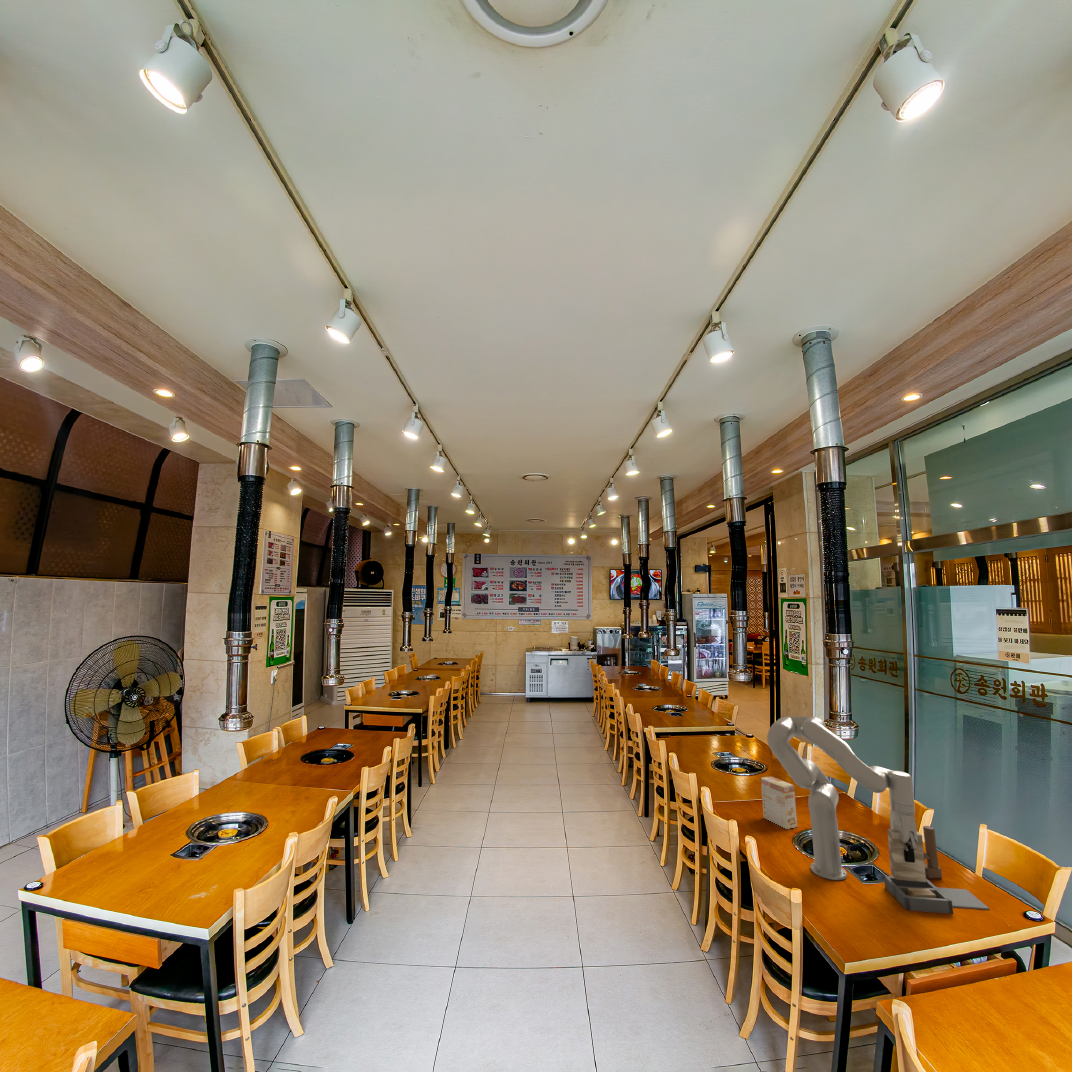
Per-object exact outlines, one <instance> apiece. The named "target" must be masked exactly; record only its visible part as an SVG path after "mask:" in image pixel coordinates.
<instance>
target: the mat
mask: <svg viewBox="0 0 1072 1072" xmlns="http://www.w3.org/2000/svg"><path fill="white" fill-rule="evenodd" d="M936 887H937V886H936ZM937 888H938V889H939V890H940V891H941V892H942V893H943V894H944V895H946V896H947V897H948V898H949V899H950V900H951V901H952V907H953V908H962V909H975V910H986V911H987V910H990V908H989V907H988V906H987V905H986V904H985V903H983V902H982V901H981V900H980V899H978V897H976V896H975V895H974V894H972V893H971V892H970V891H969V890H968V889H965V888H950V887H937Z"/></svg>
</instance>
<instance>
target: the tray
mask: <svg viewBox="0 0 1072 1072" xmlns="http://www.w3.org/2000/svg"><path fill="white" fill-rule="evenodd" d="M883 878H884V879H883V880H884V887H885V889H886V890H887V891H888V892H889V893H890V894H891V895H892V897H894V898H895V899H896V900H897V902H898V903H899V904H900V905H901V906H902V907H903V908H904V909H905V910H906V911H910V912H911V911H914V912H926V913H935V914H936V913H937V914H949V915H950V914H951V915H953V914H954V907H952V901H951V900H950V899H949V898H948V897H947V896H946V895H944V894H943V893H942V892H941V891H940V890H939V889H938V888H939V887H938V888H937V886H936V885H934V884H933V883H932V882H931V881H930V880H929V878H926V882H919V881H908V880H896V879H895V878H894V877H893V876H892V875H884V876H883ZM908 888H920V889H929V890H930V891H932V892H933V893H934V894H935V895H936V898H926V897H912V896H907V895H908Z"/></svg>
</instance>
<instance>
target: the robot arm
mask: <svg viewBox="0 0 1072 1072" xmlns="http://www.w3.org/2000/svg"><path fill="white" fill-rule="evenodd" d="M794 737H796V738H797V737H798V738H799V737H800V738H805V739H806V740H807V741H808V742H810V743H811V744H813V745H814V746H815V747H817V748H818V749H819V750H820V751H822V752H823V753H825V754H826V755H827V756H829V757H830V758H831V759H832V760H834V761H835V762H836V764H837V765H838V766H839V767H840V768H842V770H843V771H844V772H845V773H846V774H847V775H848V776H850V777H851V778H852V779H853V780H854V781H856V782H857V783H858V784H859V785H861V786H863V788H865V789H866V790H868V791H870V792H872V793H875V794H880V793H881V794H882V793H883V792H885V791H886V790H887V788H888V791H889V805H890V813H889V814H890V815H889V816H890V823H889V825H890V829H892V830H895V831H896V832H897V833H898V834H899V839H900V840H901V841H902V842H903V843H904V846H905V850H904V858H905V861H906V862H912V863H915V855H914V852H915V849H916V848H917V845H916V843H917V841H918V838H917V832H918V831H917V830H918V829H917V824H916V818H915V815H916V809H915V808H916V807H915V806H916V805H915V795H914V784H913V777H912V775H911V774H909V773H907V772H904V771H901V770H892V769H888V768H884V767H882V766H879V765H871V766H868V765H867V764H866V763H864V762H863V761H862V760H860V758H859V757H857V756H856V754H855V753H854V751H853V750H852V748H851V747H850V746H849V744H848V743H847V742H846V741H844V740H843V739H842V738H840V737H839V736H838V735H836V734H835V733H833V732H832V731H831V730H830V729H828V728H827V725H826V723H825V722H824V721H823V719H821V718H819V717H817V716H783V717H780V718H778V719H777V720H776V721H774V722H773V723H772V725H771V726H770V727H769V729H768V732H767V736H766V738H767V739H766V740H767V741H766V742H767V744H768V745H767V746H768V747H769V749H770V751H771V752H772V754H773V756H775V757H776V759H777V760H778V761H779V763H780V765H781V767H783V769H784V770H785V771H786V773H788V775H789V776H790V778H791V779H792V781H793V782H794V783H795V784H796V785H797V786H798V787H800V788H802V789H808V790H809V792H810V793H809V795H808V799H807V801H808V802H807V806H808V810H809V815H810V825H811V838H812V846H813V849H812V850H813V859H814V862H812V863H811V864H810V870H811V872H813V873H814V874H815V875H816V876H818V877H821V878H823V879H827V880H831V881H843V880H845V879H847V877H848V873H847V870H845V869H844V867H842V857H841V846H840V845H841V844H840V834H839V825H838V819H837V818H838V817H837V806H838V803H839V799H840V797H839V793H838V790H837V789H836V787H835V786H834V785H833V783H832V782H831V781H830V780H829V778H828V777H827V775H825V773H824V772H823V771H822V770H821V769H820V767H819V766H818V765H817V764H816V763H815V762H814V761H812V760H810V759H808V758H802V756H801V755H800V754H799V752H798V751H797V750H796V748H794V746H792V745H791V743H790V740H791V739H793V738H794ZM908 840H910V841H908ZM907 844H911V845H908V846H907Z"/></svg>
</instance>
